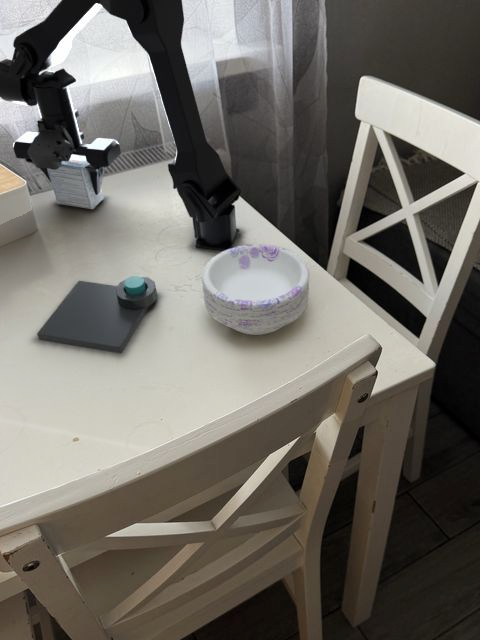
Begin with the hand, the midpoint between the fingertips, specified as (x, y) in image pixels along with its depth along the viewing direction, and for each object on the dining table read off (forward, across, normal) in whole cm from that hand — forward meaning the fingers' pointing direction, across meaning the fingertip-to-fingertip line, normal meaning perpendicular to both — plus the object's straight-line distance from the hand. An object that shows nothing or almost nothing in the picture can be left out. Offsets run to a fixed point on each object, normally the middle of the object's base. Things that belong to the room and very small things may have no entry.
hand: (78, 191), depth 114 cm
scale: (+2, +19, -31) cm, 36 cm away
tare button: (0, +23, -26) cm, 35 cm away
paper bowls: (+2, +42, -25) cm, 49 cm away
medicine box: (+2, 0, 0) cm, 2 cm away
